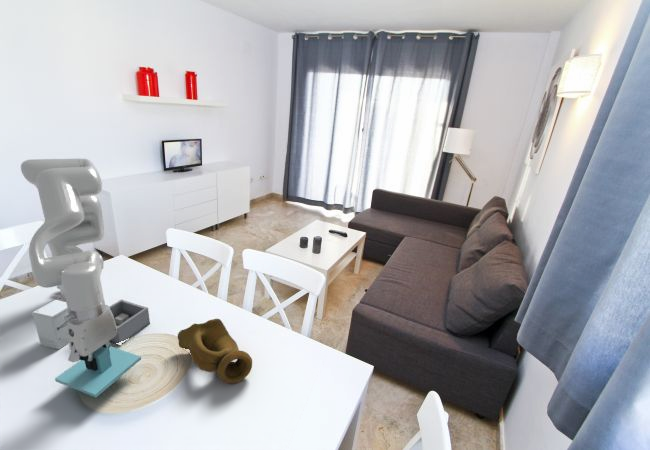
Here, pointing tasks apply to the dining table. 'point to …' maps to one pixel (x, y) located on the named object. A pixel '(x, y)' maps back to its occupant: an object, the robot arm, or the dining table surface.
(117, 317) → the tub
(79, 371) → the lid
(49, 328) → the supplement box
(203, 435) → the dining table surface
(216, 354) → the brown looped sculpture
